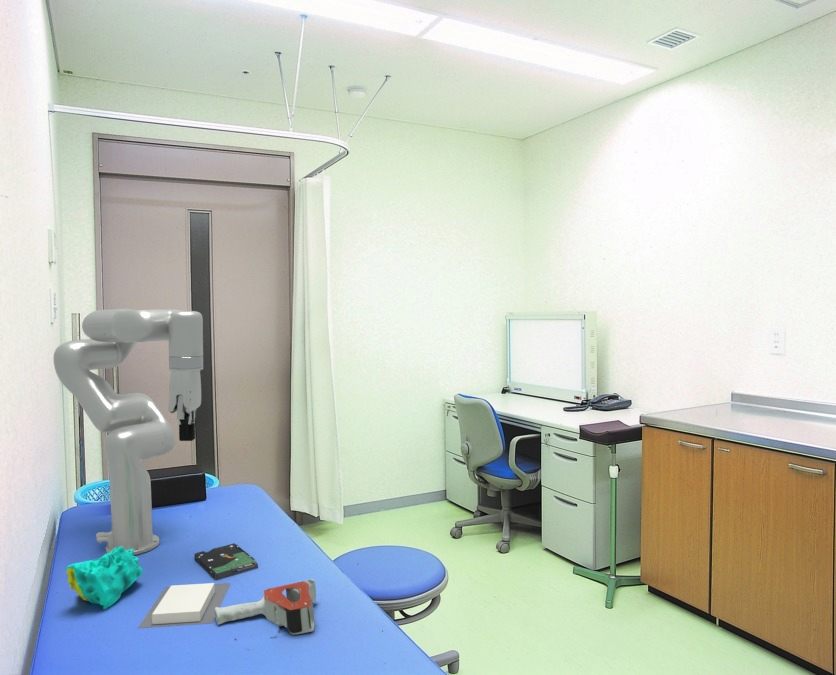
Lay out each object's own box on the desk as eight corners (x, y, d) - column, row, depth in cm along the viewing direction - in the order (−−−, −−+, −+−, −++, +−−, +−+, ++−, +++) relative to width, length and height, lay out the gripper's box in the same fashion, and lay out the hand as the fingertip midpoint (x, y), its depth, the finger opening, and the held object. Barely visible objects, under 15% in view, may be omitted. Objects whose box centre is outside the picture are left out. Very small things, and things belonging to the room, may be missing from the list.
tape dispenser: (207, 631, 117) (281, 655, 106) (204, 604, 117) (278, 626, 106) (273, 590, 132) (344, 608, 121) (271, 566, 132) (341, 582, 121)
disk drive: (193, 564, 146) (215, 585, 134) (193, 553, 146) (215, 573, 134) (234, 553, 152) (259, 572, 141) (234, 542, 152) (259, 560, 141)
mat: (137, 631, 115) (137, 628, 115) (165, 589, 132) (165, 586, 132) (212, 626, 116) (212, 623, 116) (230, 585, 133) (230, 582, 133)
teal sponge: (55, 564, 129) (113, 524, 136) (87, 608, 131) (143, 565, 139) (60, 576, 117) (124, 531, 124) (95, 624, 119) (156, 577, 126)
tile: (171, 595, 128) (152, 624, 116) (171, 585, 128) (151, 614, 116) (214, 592, 129) (200, 621, 117) (214, 583, 129) (199, 611, 117)
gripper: (180, 359, 148) (181, 432, 149) (158, 367, 133) (159, 448, 134) (211, 360, 149) (212, 432, 150) (192, 367, 134) (193, 448, 135)
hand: (187, 439), depth 142 cm, fingers closed
